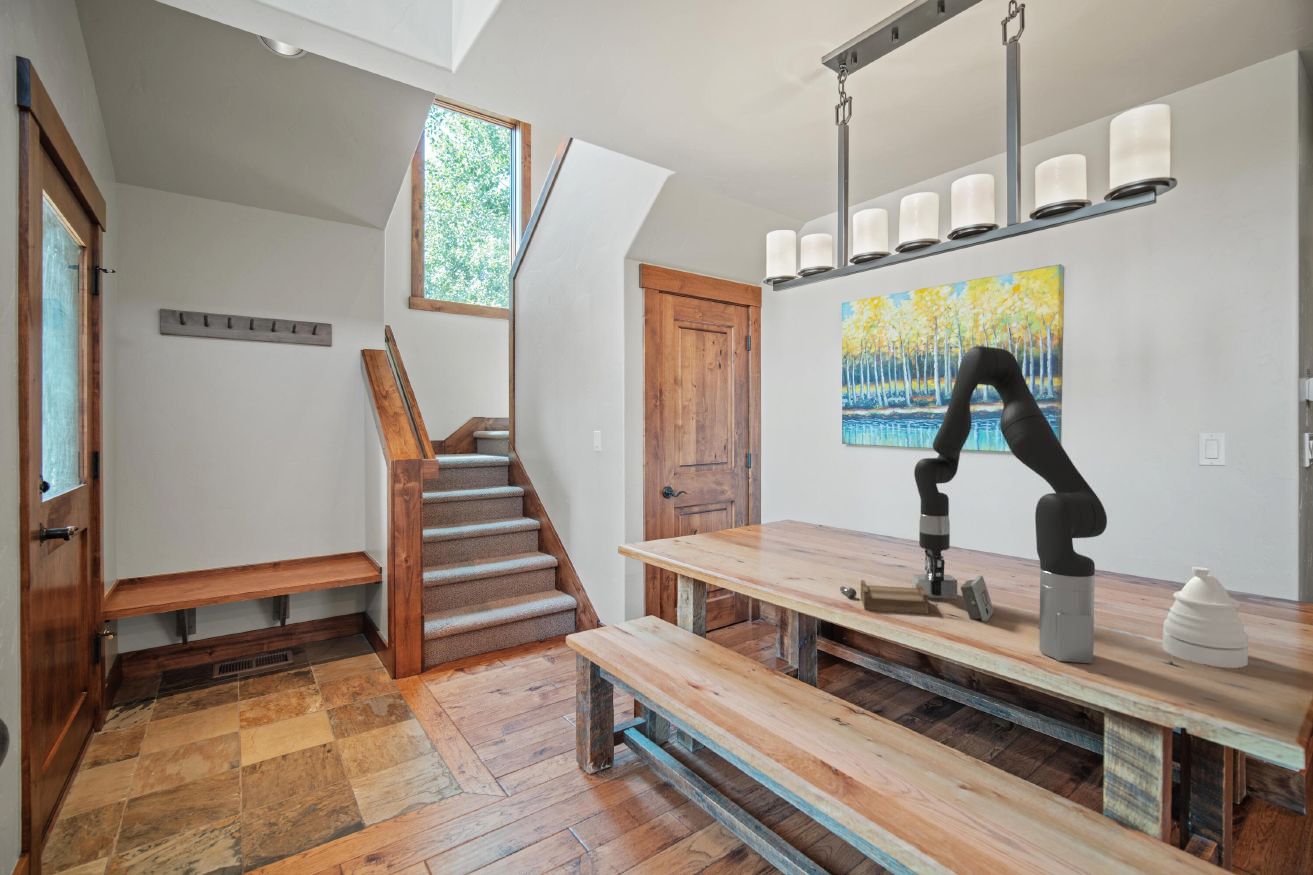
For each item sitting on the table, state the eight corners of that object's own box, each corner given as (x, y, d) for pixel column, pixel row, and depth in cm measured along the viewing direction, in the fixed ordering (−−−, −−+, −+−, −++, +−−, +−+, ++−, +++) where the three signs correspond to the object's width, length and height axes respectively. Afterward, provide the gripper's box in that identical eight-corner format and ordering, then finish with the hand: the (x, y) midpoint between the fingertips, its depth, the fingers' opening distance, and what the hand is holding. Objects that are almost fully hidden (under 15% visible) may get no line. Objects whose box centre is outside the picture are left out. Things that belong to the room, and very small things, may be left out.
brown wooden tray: (928, 613, 150) (928, 595, 149) (864, 609, 153) (864, 592, 153) (919, 599, 161) (919, 582, 161) (860, 595, 165) (860, 579, 165)
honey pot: (1226, 672, 114) (1229, 578, 114) (1149, 648, 126) (1150, 563, 126) (1261, 660, 120) (1264, 571, 119) (1183, 639, 131) (1185, 557, 131)
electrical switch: (986, 623, 143) (982, 584, 143) (962, 620, 146) (959, 582, 146) (994, 613, 150) (990, 575, 150) (971, 611, 153) (967, 574, 153)
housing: (957, 598, 162) (957, 577, 161) (918, 597, 163) (918, 576, 163) (949, 592, 167) (949, 571, 167) (912, 591, 168) (912, 571, 168)
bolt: (856, 598, 163) (856, 588, 163) (847, 598, 163) (847, 588, 163) (847, 591, 169) (847, 582, 169) (838, 592, 169) (838, 582, 169)
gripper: (955, 536, 156) (955, 600, 157) (943, 526, 170) (943, 585, 171) (924, 535, 158) (924, 598, 159) (915, 525, 172) (914, 583, 173)
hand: (934, 591), depth 165 cm, fingers closed on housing, 6 cm apart
